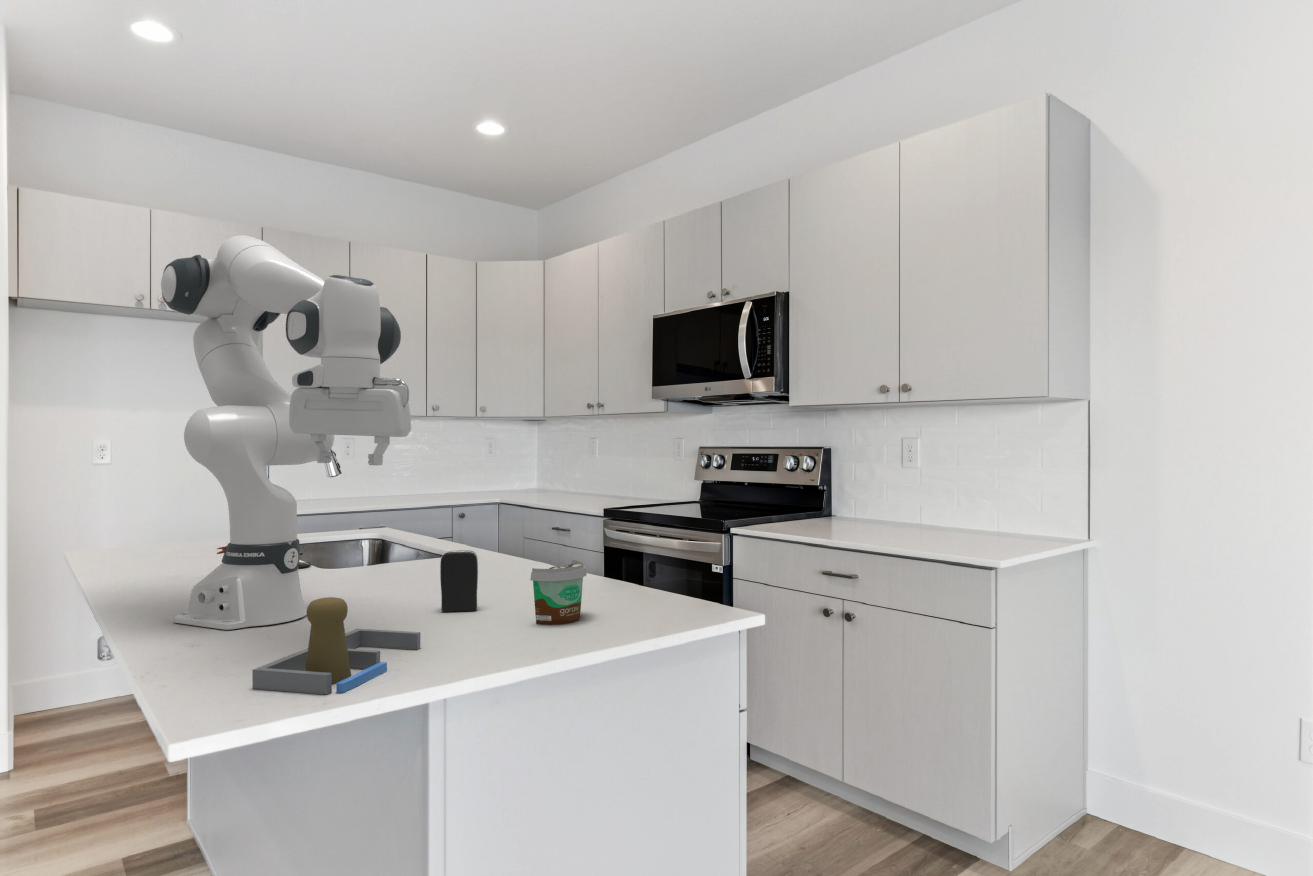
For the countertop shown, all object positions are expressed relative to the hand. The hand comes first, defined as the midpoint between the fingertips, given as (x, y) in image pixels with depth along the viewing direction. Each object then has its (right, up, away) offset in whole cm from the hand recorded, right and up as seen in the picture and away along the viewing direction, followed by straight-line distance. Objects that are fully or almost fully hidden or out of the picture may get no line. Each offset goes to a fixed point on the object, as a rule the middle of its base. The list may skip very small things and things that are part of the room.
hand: (349, 464), depth 127 cm
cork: (+4, -29, -18) cm, 34 cm away
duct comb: (+5, -29, -13) cm, 32 cm away
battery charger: (+12, -29, +25) cm, 40 cm away
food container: (+33, -29, +16) cm, 47 cm away
